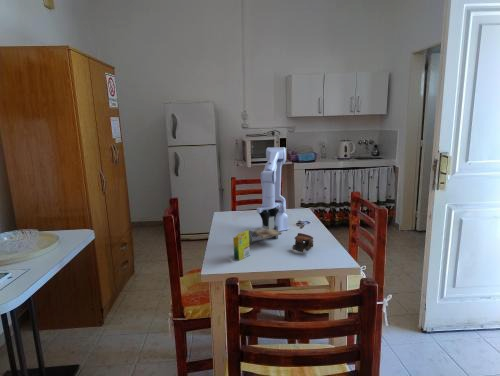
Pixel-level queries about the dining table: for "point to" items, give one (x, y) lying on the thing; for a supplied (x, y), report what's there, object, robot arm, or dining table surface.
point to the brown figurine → (303, 245)
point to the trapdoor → (264, 232)
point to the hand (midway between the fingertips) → (268, 224)
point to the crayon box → (241, 245)
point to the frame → (261, 237)
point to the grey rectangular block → (269, 223)
